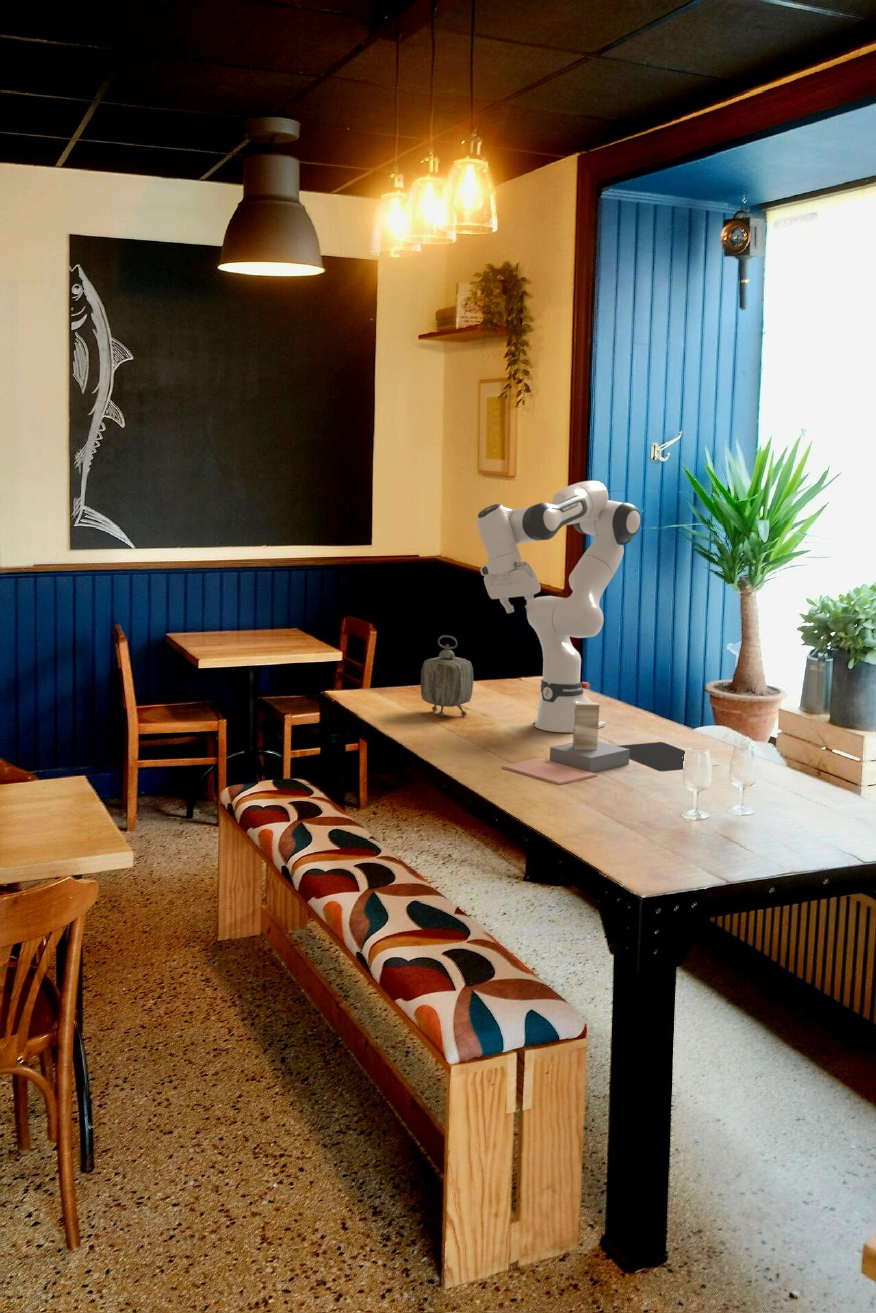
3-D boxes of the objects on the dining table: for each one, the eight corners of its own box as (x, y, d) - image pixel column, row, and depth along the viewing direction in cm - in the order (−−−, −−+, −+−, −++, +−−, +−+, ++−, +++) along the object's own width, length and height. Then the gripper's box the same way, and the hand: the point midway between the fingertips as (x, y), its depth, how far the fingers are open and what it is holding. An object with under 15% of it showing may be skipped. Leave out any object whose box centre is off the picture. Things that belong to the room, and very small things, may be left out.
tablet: (603, 746, 344) (661, 741, 352) (603, 749, 344) (661, 743, 352) (660, 771, 320) (721, 765, 329) (660, 773, 320) (721, 767, 329)
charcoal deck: (588, 753, 337) (589, 739, 336) (628, 763, 327) (629, 749, 326) (549, 761, 326) (550, 747, 325) (589, 773, 316) (590, 757, 315)
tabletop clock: (472, 716, 378) (475, 636, 374) (456, 721, 371) (459, 639, 367) (432, 709, 386) (435, 631, 382) (416, 714, 379) (419, 634, 374)
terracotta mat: (538, 760, 327) (538, 757, 327) (596, 776, 313) (596, 773, 313) (502, 767, 318) (502, 765, 318) (559, 784, 304) (560, 782, 304)
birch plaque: (572, 746, 327) (574, 702, 325) (594, 746, 327) (597, 702, 325) (574, 749, 324) (576, 704, 322) (597, 749, 324) (599, 705, 322)
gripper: (537, 557, 329) (552, 605, 331) (493, 563, 346) (508, 609, 348) (519, 564, 326) (534, 613, 328) (476, 570, 343) (491, 617, 345)
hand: (520, 611), depth 338 cm, fingers open, 8 cm apart
